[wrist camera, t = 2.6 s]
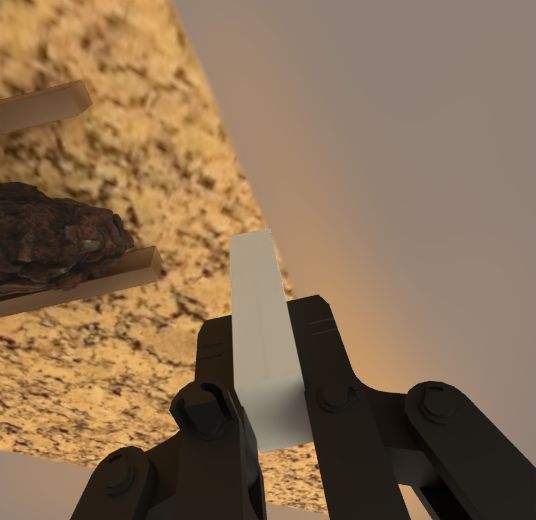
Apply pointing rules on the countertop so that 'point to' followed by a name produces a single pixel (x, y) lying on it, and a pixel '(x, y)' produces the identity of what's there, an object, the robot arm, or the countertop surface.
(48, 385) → the countertop surface
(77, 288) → the channel rails
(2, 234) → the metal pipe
